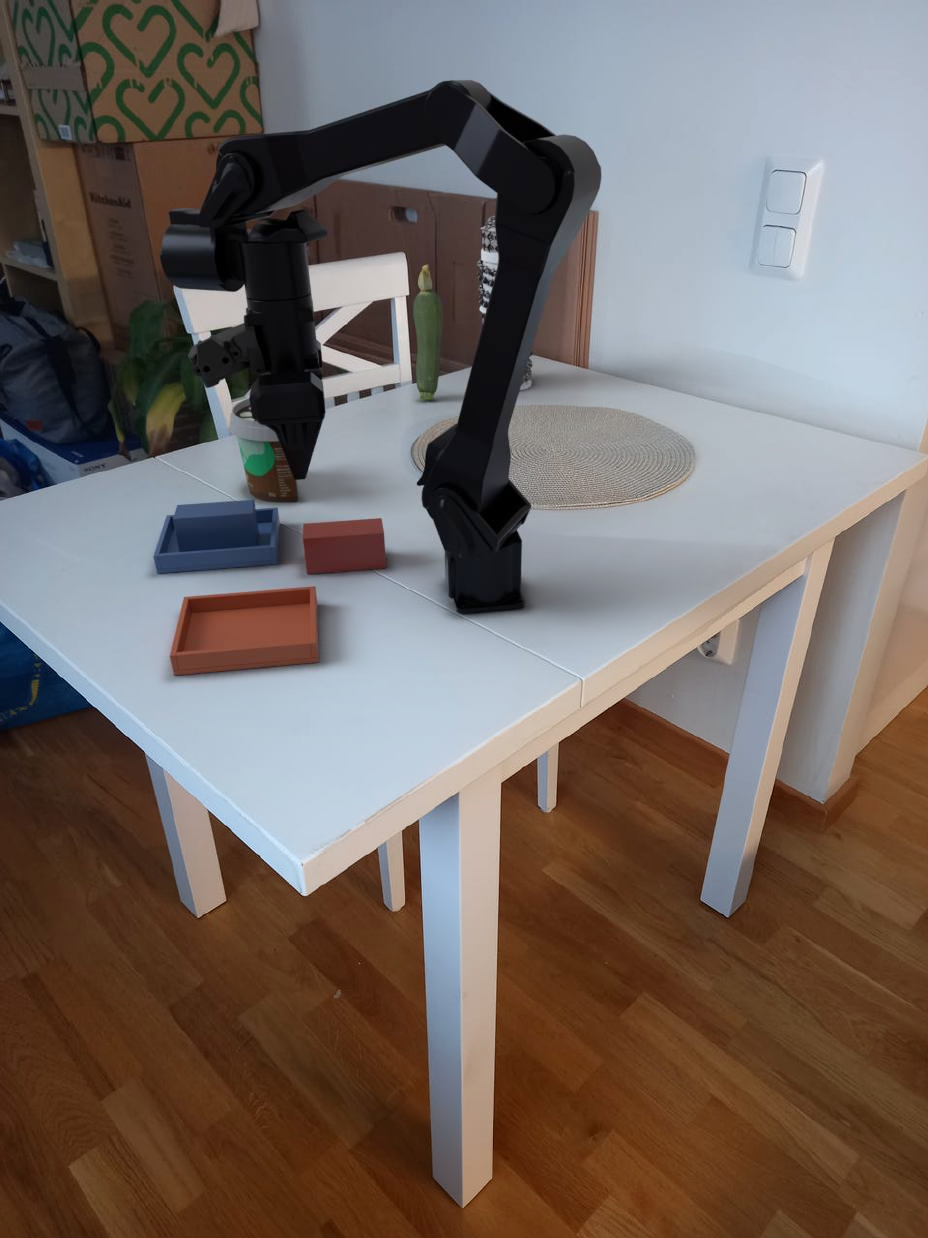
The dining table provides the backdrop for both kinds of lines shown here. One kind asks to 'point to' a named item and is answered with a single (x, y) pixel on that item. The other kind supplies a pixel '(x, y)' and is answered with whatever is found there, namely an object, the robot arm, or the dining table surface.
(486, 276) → the decorative candle
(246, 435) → the food container
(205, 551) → the blue tray
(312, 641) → the orange tray
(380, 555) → the red bar
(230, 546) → the blue bar
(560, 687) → the dining table surface
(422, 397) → the vegetable
